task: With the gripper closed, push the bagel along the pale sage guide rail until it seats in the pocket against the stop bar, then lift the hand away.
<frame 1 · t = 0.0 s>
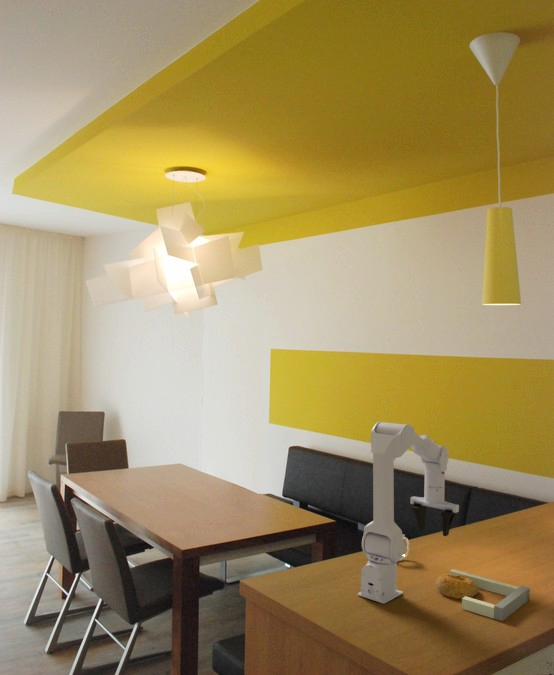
hand: (433, 532, 180), 10 cm above the table, tool pointing down, fingers open, 7 cm apart
guide: (480, 599, 157), on the table
ring: (399, 561, 185), on the table
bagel: (457, 594, 161), on the table
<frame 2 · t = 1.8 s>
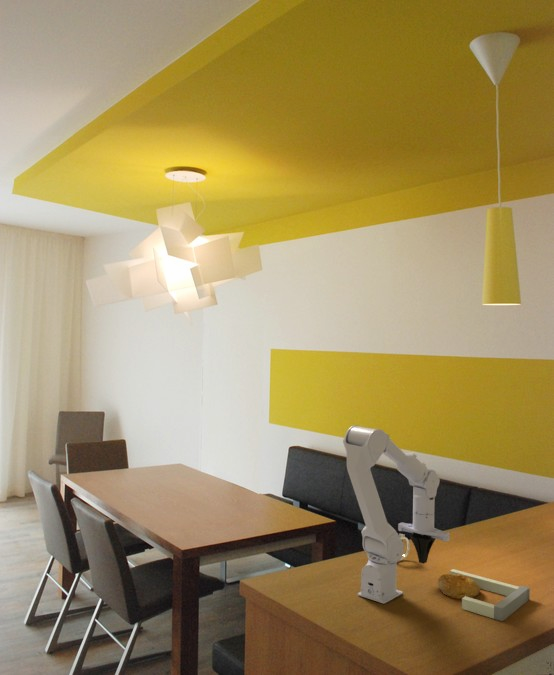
hand: (422, 562, 168), 5 cm above the table, tool pointing down, fingers closed
nothing on the table moved.
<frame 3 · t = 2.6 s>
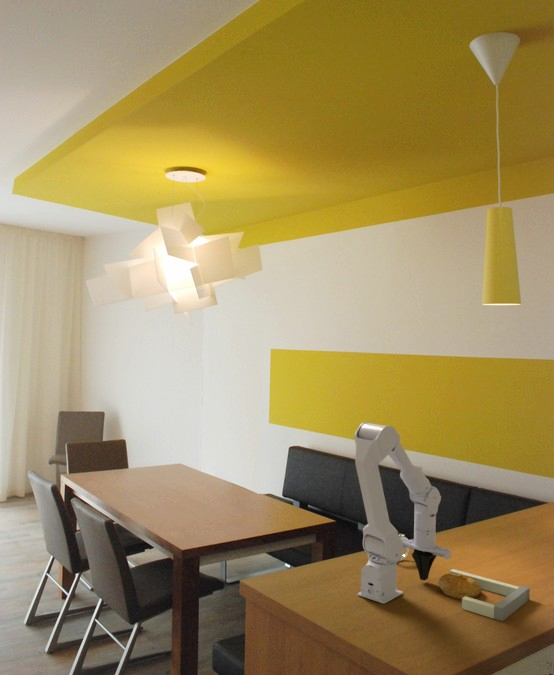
hand: (423, 579, 167), 1 cm above the table, tool pointing down, fingers closed
nothing on the table moved.
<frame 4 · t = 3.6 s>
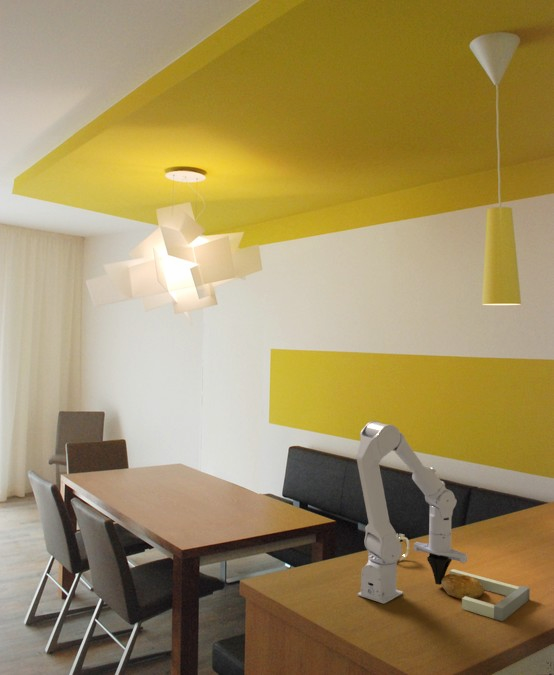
hand: (439, 583, 164), 1 cm above the table, tool pointing down, fingers closed
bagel: (462, 594, 161), on the table, touching gripper
everything else where it was.
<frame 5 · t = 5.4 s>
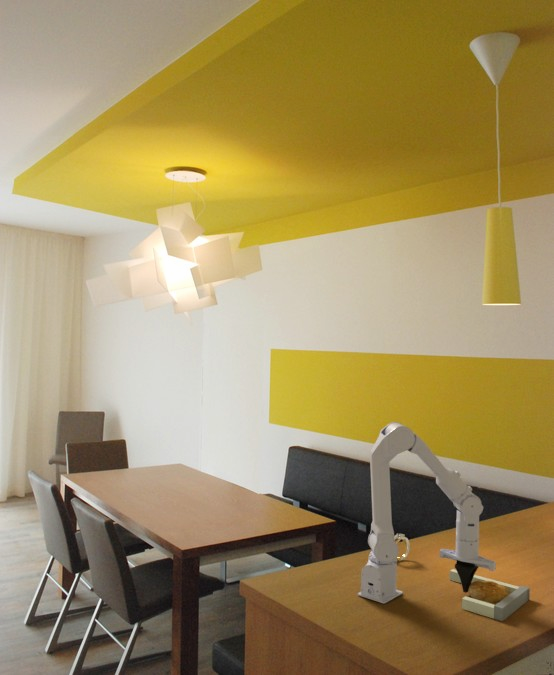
hand: (466, 591, 159), 1 cm above the table, tool pointing down, fingers closed
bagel: (490, 601, 156), on the table, touching gripper, guide
everything else where it was.
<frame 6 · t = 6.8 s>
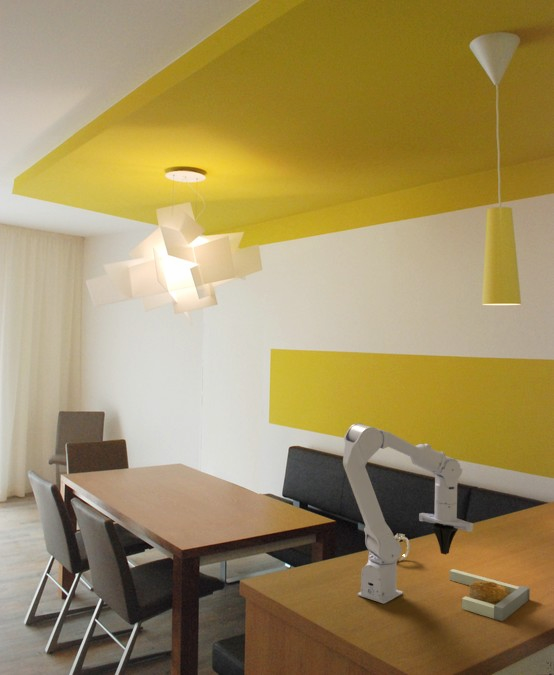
hand: (444, 553, 164), 9 cm above the table, tool pointing down, fingers closed
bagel: (490, 601, 156), on the table
everything else where it was.
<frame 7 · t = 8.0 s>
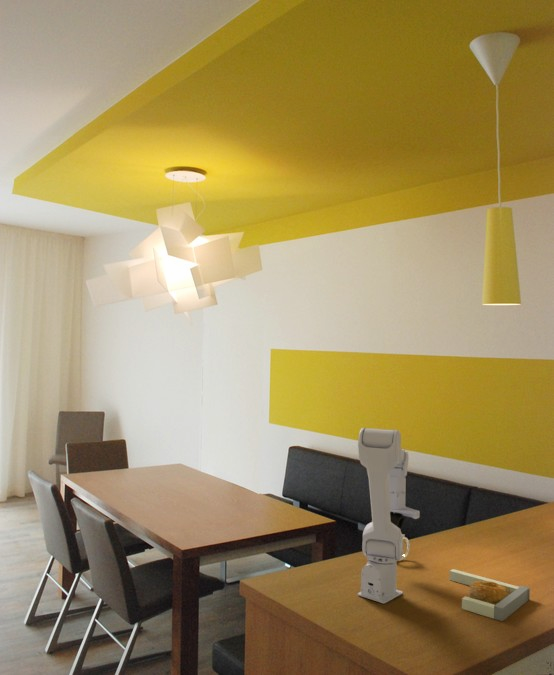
hand: (394, 539, 175), 9 cm above the table, tool pointing down, fingers closed
nothing on the table moved.
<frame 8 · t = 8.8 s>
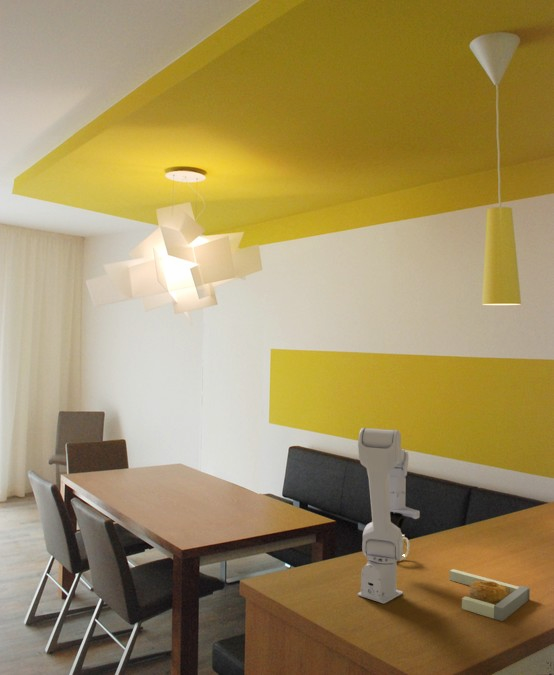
hand: (394, 539, 175), 9 cm above the table, tool pointing down, fingers closed
nothing on the table moved.
at the end: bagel inside the target area (1.6 cm from its centre), on the table; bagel moved 8.6 cm from its start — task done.
